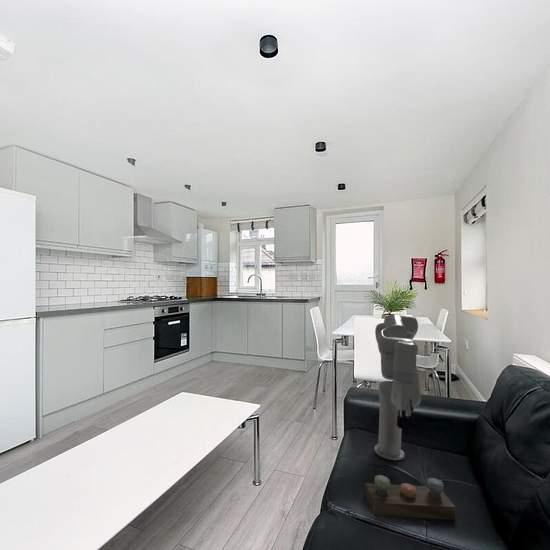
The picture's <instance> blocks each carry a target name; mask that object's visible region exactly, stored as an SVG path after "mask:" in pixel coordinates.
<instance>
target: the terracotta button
mask: <svg viewBox="0 0 550 550" xmlns="http://www.w3.org/2000/svg"><path fill="white" fill-rule="evenodd" d="M400 485H401V494H402V495H403V496H405V498H410V499H414V498H416V488H415V487H414V486H415V485H413V484H410V483H404V482H403V483H401V484H400Z"/></svg>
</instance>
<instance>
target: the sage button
mask: <svg viewBox="0 0 550 550" xmlns="http://www.w3.org/2000/svg"><path fill="white" fill-rule="evenodd" d="M374 484H375V486H376V487H377V494H378V496H382V497H387V490H388V489H389V488H390V485H391V481H390V478H388V477H387V476H385V475H381V474H378V475H375V476H374Z"/></svg>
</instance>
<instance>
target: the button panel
mask: <svg viewBox="0 0 550 550" xmlns="http://www.w3.org/2000/svg"><path fill="white" fill-rule="evenodd" d="M364 486H365V487H364V497H365V498H366V501H367V503H368V505H369V507H370V509H371V512H372V513H373V515H374V516H377V517H393V518H395V517H397V518H411V519H413V518H415V519H435V520H436V519H437V520H451V521H452V520H456V506H455V504H454V503H453V502H452V501H451V500H450V498H449V497H448V496H447V495H446V494H445V492H444V491H443V492H442V493H441V495H440V499H432V498H431V496H430V489H429V488H428V487H427V485H426V486H425V485H413V486H414V487H415V488H416V498H414V499H410V498H405V496H403V495H402V494H401V484H390V488H389V489H388V490H387V497H382V496H378V494H377V487H376V486H375V483H365V485H364Z"/></svg>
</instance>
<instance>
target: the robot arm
mask: <svg viewBox="0 0 550 550" xmlns="http://www.w3.org/2000/svg"><path fill="white" fill-rule="evenodd" d="M418 322H419V321H418V320H417V318H416V317H415V316H414V315H411V314H409V315H408V314H401V313H399V314H398V313H392V314H391V313H390V314H387V315H386V316H385V317H384V320H383V322H381V323H378V324H376V326H375V330H374V335H375V340H376V343H377V348H378V352H379V353H380V370H381V371H380V372H381V375H382V378H384V379H385V380H384V381H381V382H380V383H379V385H378V397H379V398H378V399H379V414H378V415H379V419H378V440H377V441H378V443H377V444H376V445H374V448H373V449H374V452H375V454H376V455H378V456H379V457H381V458H383V459H386V460H389V461H401V460H404V458H405V452H404V450H402V449H401V448H402V429H406V430H407V429H408V424H409V420H408V419H409V417H411V416H412V412H414V410H415V407H418V406H419V405H421V401H422V399H421V398H422V395H421V394H422V393H421V389H420V388H421V387H420V379H419V378H420V377H419V371H418V367H417V355H418V351H419V349H418V347H419V345H418V344H417V342H416V341H415V340H414V338H415V337H416V334H417V333H418V330H419V323H418Z"/></svg>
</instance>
